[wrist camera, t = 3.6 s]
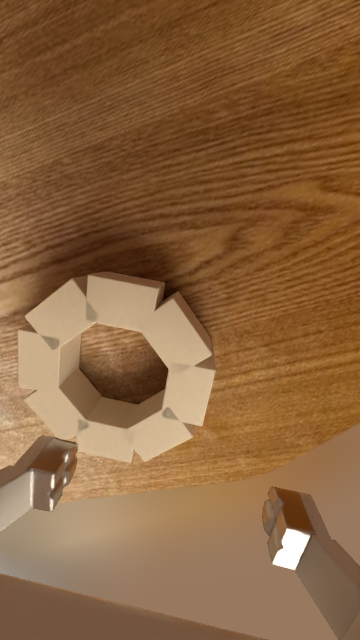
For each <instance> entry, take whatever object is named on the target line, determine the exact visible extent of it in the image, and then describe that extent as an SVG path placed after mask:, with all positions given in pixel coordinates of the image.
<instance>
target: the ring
mask: <svg viewBox="0 0 360 640" xmlns="http://www.w3.org/2000/svg"><path fill="white" fill-rule="evenodd" d="M164 289H165V282H160V281H155V280H150V279H145V278H139V277H134V276H129V275H124V274H119V273H113V272H108V271H106V272H100V273H95V274H89V275H87V276H82V277H76V278H71V279H70V280H69V281H67V282H66V283H65V284H64V285H62V286H61V287H60V288H59V289H57V290H56V291H55V292H54V293H52V294H51V295H50V296H49V297H47V298H46V299H45V300H43V301H42V302H41V303H40V304H38V305H37V306H36V307H35V308H33V309H32V310H31V311H30V312H28V313H27V314H26V315H25V316H24V317H25V318H26V319H27V321H28V322H29V323H30V325H27V326H25V327H22V328H20V329H18V386H19V387H23V388H28V389H33V390H35V391H33V392H32V393H31V394H30V395H28V396H27V397H26V398H25V399H24V401H25V402H26V403H27V404H28V405H29V406H30V407H31V409H32V410H33V411H34V412H35V413H36V414H37V415H38V416H39V418H40V419H41V420H42V421H43V422H44V423H45V424H46V425H47V427H48V428H49V429H50V430H51V431H52V432H53V433H54V434H55V436H56V437H57V438H59V439H63V440H69V439H71V438H72V437H74V436H76V443H77V444H78V451H79V452H84V453H88V454H93V455H97V456H101V457H106V458H110V459H115V460H119V461H123V462H128V463H131V462H132V459H133V456H134V453H135V451H136V452H137V453H138V455H139V456H140V457H141V458H142V459H143V461H144V462H145V461H147V460H149V459H151V458H153V457H155V456H157V455H159V454H161V453H163V452H165V451H167V450H169V449H171V448H173V447H175V446H177V445H179V444H181V443H183V442H185V441H187V440H188V439H190V438H192V437H193V434H194V425H198V426H202V425H203V421H204V417H205V413H206V409H207V404H208V400H209V396H210V392H211V388H212V384H213V380H214V375H215V371H216V369H215V359H214V353H213V352H212V343H211V338H210V336H209V335H208V333H207V332H206V331H205V329H204V328H203V326H202V325H201V323H200V322H199V320H198V319H197V317H196V316H195V315H194V313H193V312H192V310H191V309H190V307H189V306H188V304H187V303H186V302H185V300H184V299H183V297H182V296H181V294H180V293H179V292H178V291H177V292H175V293H174V294H172V295H171V296H170V297H168V298H167V299H165V300H164V301H163V295H164ZM95 323H99V324H104V325H109V326H114V327H119V328H124V329H129V330H134V331H139V332H141V333H142V334H143V335H144V337H145V338H146V339H147V341H148V342H149V344H150V345H151V346H152V348H153V349H154V350H155V352H156V353H157V354H158V356H159V357H160V358H161V360H162V361H163V362H164V364H165V365H166V366H167V368H168V369H169V370H168V376H167V381H166V387H165V389H164V390H162V391H160V392H159V393H157V394H155V395H153V396H152V397H150V398H148V399H147V400H145V401H143V402H141V403H140V404H138V405H137V404H133V403H128V402H123V401H119V400H114V399H110V398H105V397H102V396H101V395H100V393H99V392H98V391H97V390H96V388H95V387H94V386H93V385H92V384H91V382H90V381H89V380H88V379H87V377H86V376H85V375H84V374H83V373H82V371H81V370H80V369H79V359H80V345H81V333H83V332H84V331H86V330H87V329H88V328H90V327H91V326H93V325H94V324H95Z"/></svg>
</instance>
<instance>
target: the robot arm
mask: <svg viewBox="0 0 360 640" xmlns="http://www.w3.org/2000/svg"><path fill="white" fill-rule="evenodd" d="M77 451H78V444H77V443H75V442H71V441H67V440H63V439H59V438H54V437H50V436H46V435H42V436H40V437H39V438H38V439H37V440H36V441H35V442H34V444H33V445H32V446H31V447H30V448H29V449H28V450H27V451H26V453H25V454H24V455H23V456H22V457H21V458H20V459H19V460H18V461H17V463H16V464H15V465H14V466H10V465H9V466H7V467H5V468H3V469H1V470H0V531H2V530H3V529H4V528H6V527H7V526H8V525H10V524H11V523H12V522H14V521H15V520H16V519H18V518H19V517H20V516H22V515H23V514H24V513H26V512H27V511H28V510H29V509H30V508H34V509H39V510H44V511H49V512H53V510H54V508H55V506H56V505H57V503H58V501H59V500H60V498H61V496H62V490H63V488H64V487H65V486H67V485H68V484H69V482H70V481H71V479H72V477H73V474H74V472H75V469H76V465H77V458H76V456H75V454H76V453H77ZM268 495H269V499H268V500H266V501H265V503H264V506H263V512H262V519H263V526H264V530H265V531H266V533H267V534H268V535H269V540H268V543H267V544H268V548H269V552H270V557H271V561H272V564H274V565H278V566H281V567H285V568H288V569H292V570H296V574H297V575H298V577H299V578H300V580H301V581H302V583H303V584H304V586H305V588H306V589H307V591H308V592H309V594H310V596H311V597H312V599H313V600H314V602H315V604H316V605H317V607H318V608H319V610H320V611H321V613H322V614H323V616H324V618H325V619H326V621H327V622H328V624H329V625H330V627H331V629H332V630H333V632H334V633H335V635H336V637H337V638H338V640H360V566H359V565H358V564H357V563H356V562H355V561H354V560H353V558H352V557H351V556H350V555H349V554H348V553H347V552H346V551H345V550H344V549H343V548H342V547H341V546H340V545H339V544H338V543H337V542H336V541H335V540H332V539H331V537H330V535H329V533H328V531H327V529H326V527H325V524H324V522H323V520H322V518H321V516H320V513H319V511H318V509H317V507H316V505H315V503H314V501H313V498H312V497H311V495H310V494H305V493H301V492H295V491H291V490H287V489H282V488H277V487H273V486H272V487H271V488H270V489H269V492H268ZM0 640H267V639H263V638H259V637H255V636H250V635H247V634H243V633H239V632H235V631H231V630H227V629H223V628H219V627H215V626H210V625H206V624H202V623H198V622H194V621H190V620H186V619H182V618H178V617H174V616H170V615H166V614H162V613H157V612H154V611H150V610H145V609H142V608H138V607H134V606H130V605H126V604H121V603H117V602H113V601H109V600H105V599H101V598H97V597H93V596H89V595H85V594H81V593H77V592H73V591H69V590H65V589H61V588H57V587H53V586H49V585H44V584H41V583H37V582H32V581H29V580H25V579H20V578H17V577H13V576H8V575H4V574H0Z"/></svg>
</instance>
